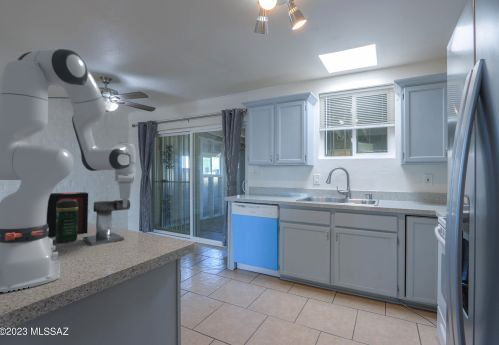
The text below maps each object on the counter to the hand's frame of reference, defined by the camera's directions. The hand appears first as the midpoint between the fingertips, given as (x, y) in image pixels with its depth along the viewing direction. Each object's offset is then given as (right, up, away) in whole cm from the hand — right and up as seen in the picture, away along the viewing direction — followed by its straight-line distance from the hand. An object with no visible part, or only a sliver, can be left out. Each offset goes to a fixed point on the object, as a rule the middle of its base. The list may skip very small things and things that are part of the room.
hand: (124, 207), depth 120 cm
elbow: (-6, -2, -1) cm, 6 cm away
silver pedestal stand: (-8, -15, -3) cm, 17 cm away
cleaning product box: (-32, -14, +7) cm, 36 cm away
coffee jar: (-24, -14, -5) cm, 28 cm away
